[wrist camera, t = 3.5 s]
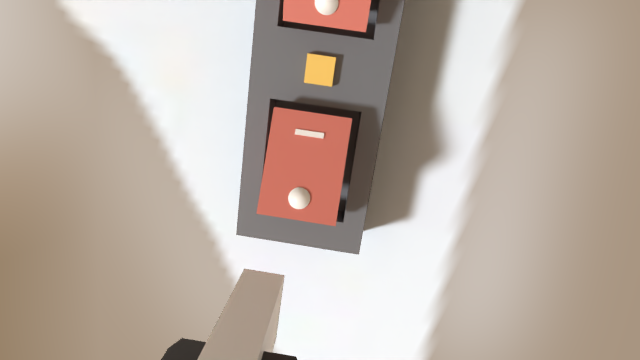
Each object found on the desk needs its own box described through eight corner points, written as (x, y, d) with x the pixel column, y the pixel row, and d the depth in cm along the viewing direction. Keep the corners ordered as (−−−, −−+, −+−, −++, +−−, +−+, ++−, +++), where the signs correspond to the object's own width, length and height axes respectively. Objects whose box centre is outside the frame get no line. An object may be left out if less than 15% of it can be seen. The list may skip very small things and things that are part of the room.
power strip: (290, -224, 23) (277, -277, 19) (436, -207, 23) (452, -258, 19) (249, 214, 31) (234, 237, 27) (358, 232, 30) (358, 257, 27)
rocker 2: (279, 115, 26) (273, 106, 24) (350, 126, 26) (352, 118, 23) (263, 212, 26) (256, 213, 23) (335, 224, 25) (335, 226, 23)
